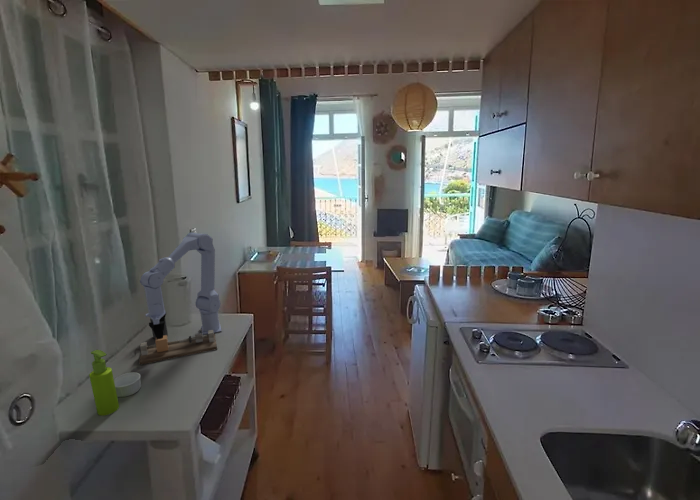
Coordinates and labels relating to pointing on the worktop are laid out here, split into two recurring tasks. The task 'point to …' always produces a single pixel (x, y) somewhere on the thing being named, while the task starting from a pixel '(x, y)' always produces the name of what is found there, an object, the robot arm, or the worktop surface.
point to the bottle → (163, 331)
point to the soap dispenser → (103, 385)
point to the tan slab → (179, 348)
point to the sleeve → (162, 344)
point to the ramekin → (127, 384)
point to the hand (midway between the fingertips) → (160, 334)
